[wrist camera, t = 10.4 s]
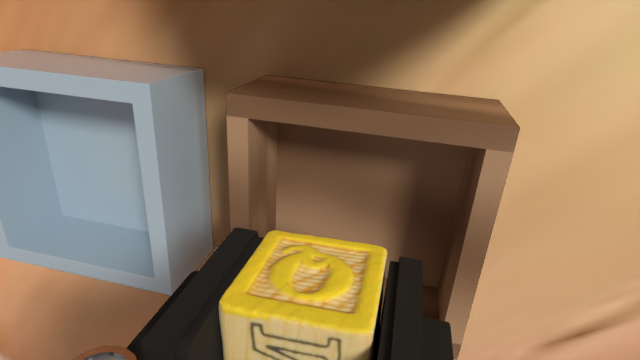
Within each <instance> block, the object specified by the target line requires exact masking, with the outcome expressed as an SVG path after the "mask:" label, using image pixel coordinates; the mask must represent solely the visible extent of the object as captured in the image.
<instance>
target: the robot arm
mask: <svg viewBox="0 0 640 360" xmlns="http://www.w3.org/2000/svg"><path fill="white" fill-rule="evenodd" d="M263 239H264V238H263V237H259V235H258V232H257V231H255V230H249V229H244V228H238V227H236V228H234V229H233V230H232V232H231V233H230V234H229V235H228V236H227V238H226V239H225V240H224V241H223V242H222V244H221V245H220V246H219V247H218V249H217V250H216V251H215V252H214V253H213V255H212V256H211V257H210V258H209V259H208V261H207V262H206V263H205V264H204V266H203V267H202V268H201V269H200V270H199V271H194V272H192V273H191V274H189V275H188V276H187V278H186V279H185V280H184V281H183V282H182V283H181V285H180V286H179V287H178V288H177V289H176V291H175V292H174V293H173V294H172V295H171V296H170V298H169V299H168V300H167V301H166V302H165V303H164V305H163V306H162V307H161V308H160V309H159V311H158V312H157V313H156V314H155V315H154V316H153V318H152V319H151V320H150V321H149V322H148V324H147V325H146V326H145V327H144V328H143V329H142V331H141V332H140V333H139V334H138V335H137V336H136V338H135V339H134V340H133V341H132V342H131V344H130V345H129V346H128V347H127V348H122V347H119V346H105V347H100V348H95V349H92V350H90V351H87V352H85V353H83V354H80V355H79V356H77V357H76V358H74V359H73V360H224V359H223V347H222V337H221V329H220V322H219V311H218V306H219V301H220V299H221V297H222V296H223V294H224V293H225V291H226V290H227V288H228V287H229V286H230V285H231V283H232V282H233V280H234V279H235V278H236V276H237V275H238V274H239V272H240V271H241V269H242V268H243V267H244V265H245V264H246V263H247V261H248V260H249V258H250V257H251V256H252V254H253V253H254V251H255V250H256V248H257V247H258V246H259V244H260V243H261V241H262V240H263ZM375 360H454V359H453V348H452V336H451V327H450V323H449V322H446V321H441V320H436V319H431V318H426V317H423V262H422V260H418V259H412V258H407V257H401V256H400V257H399V262H395V261H390V265H389V271H388V277H387V284H386V290H385V296H384V303H383V309H382V315H381V321H380V328H379V335H378V342H377V349H376V356H375Z"/></svg>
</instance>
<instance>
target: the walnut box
mask: <svg viewBox="0 0 640 360" xmlns="http://www.w3.org/2000/svg"><path fill="white" fill-rule="evenodd" d="M226 118H227V147H228V177H229V207H230V233H231V232H232V230H233V229H234V228H236V227H238V228H244V229H249V230H255V231H257V232H258V235H259V237H263V238H264V237H265V235H266V234H267V233H268V232H270V231H274V230H277V231H283V232H289V233H295V234H304V235H312V236H317V237H326V238H332V239H338V240H344V241H351V242H359V243H367V244H372V245H378V246H382V247H384V248H385V249H386V250H387V260H386V269H385V278H384V287H383V300H382V309H383V303H384V296H385V290H386V284H387V277H388V271H389V265H390V261H395V262H399V257H400V256H401V257H407V258H412V259H418V260H422V262H423V317H426V318H431V319H436V320H441V321H446V322H449V323H450V327H451V336H452V348H453V359H456V360H457V358H458V355H459V351H460V347H461V344H462V340H463V336H464V333H465V329H466V325H467V322H468V318H469V314H470V311H471V307H472V303H473V300H474V296H475V292H476V289H477V285H478V281H479V278H480V274H481V270H482V267H483V263H484V259H485V256H486V252H487V248H488V244H489V241H490V237H491V233H492V230H493V226H494V222H495V219H496V215H497V211H498V208H499V204H500V200H501V197H502V193H503V189H504V186H505V182H506V178H507V175H508V171H509V167H510V164H511V160H512V156H513V153H514V149H515V145H516V141H517V138H518V134H519V130H520V127H519V125H518V124H517V123H516V122H515V120H514V119H513V118H512V116H511V115H510V114H509V113H508V111H507V110H506V109H505V107H504V106H503V105H502V103H501V102H500V101H499V100H493V99H484V98H475V97H465V96H456V95H446V94H437V93H428V92H418V91H409V90H400V89H390V88H381V87H371V86H362V85H353V84H343V83H334V82H325V81H315V80H306V79H296V78H287V77H278V76H268V75H266V76H263V77H261V78H259V79H257V80H254V81H252V82H250V83H247V84H245V85H243V86H241V87H238V88H236V89H234V90H232V91H229V92H227V93H226ZM382 309H381V315H382ZM380 321H381V318H380Z"/></svg>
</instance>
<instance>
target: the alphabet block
mask: <svg viewBox="0 0 640 360" xmlns="http://www.w3.org/2000/svg"><path fill="white" fill-rule="evenodd" d="M386 260H387V250H386V249H385V248H384V247H382V246H378V245H372V244H367V243H359V242H351V241H344V240H338V239H332V238H326V237H317V236H312V235H304V234H295V233H289V232H283V231H277V230H274V231H270V232H268V233H267V234H266V235H265V237H264V239H263V240H262V241H261V243H260V244H259V246H258V247H257V248H256V250H255V251H254V253H253V254H252V256H251V257H250V258H249V260H248V261H247V263H246V264H245V265H244V267H243V268H242V269H241V271H240V272H239V274H238V275H237V276H236V278H235V279H234V280H233V282H232V283H231V285H230V286H229V287H228V288H227V290H226V291H225V293H224V294H223V296H222V297H221V299H220V301H219V306H218V311H219V322H220V329H221V337H222V347H223V359H224V360H375V356H376V349H377V342H378V335H379V328H380V318H381V309H382V300H383V287H384V278H385V269H386Z"/></svg>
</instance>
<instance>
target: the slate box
mask: <svg viewBox="0 0 640 360" xmlns="http://www.w3.org/2000/svg"><path fill="white" fill-rule="evenodd" d="M212 250H213V235H212V217H211V199H210V180H209V162H208V144H207V125H206V107H205V89H204V70H203V68H193V67H184V66H175V65H165V64H156V63H146V62H137V61H128V60H118V59H109V58H100V57H90V56H81V55H71V54H62V53H53V52H43V51H34V50H16V51H7V52H0V257H1V258H6V259H10V260H15V261H19V262H24V263H28V264H33V265H37V266H42V267H46V268H50V269H55V270H59V271H64V272H68V273H73V274H77V275H82V276H86V277H91V278H95V279H99V280H104V281H108V282H113V283H117V284H122V285H126V286H131V287H135V288H139V289H144V290H148V291H153V292H157V293H162V294H166V295H172V294H173V293H174V292H175V291H176V289H177V288H178V287H179V286H180V285H181V283H182V282H183V281H184V280H185V279H186V278H187V276H188V275H189V274H191V273H192V272H194V270H195V269H196V268H197V267H198V266H199V265H200V264H201V262H202V261H203V260H204V259H205V258H206V257H207V256H208V254H209V253H210V252H211V251H212Z"/></svg>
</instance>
